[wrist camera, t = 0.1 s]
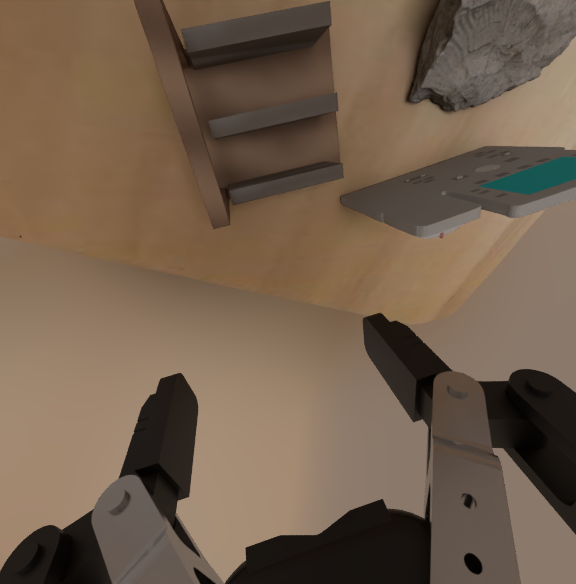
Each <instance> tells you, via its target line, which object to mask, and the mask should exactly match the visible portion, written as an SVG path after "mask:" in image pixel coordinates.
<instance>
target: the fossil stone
mask: <svg viewBox="0 0 576 584" xmlns="http://www.w3.org/2000/svg"><path fill="white" fill-rule="evenodd" d="M575 36H576V0H440V2H439V5H438V7H437V9H436V11H435V16H434V18H433V20H432V22H431V23H430V25H429V28H428V31H427V35H426V38H425V41H424V44H423V46H422V49H421V53H420V58H419V63H418V67H417V76H416V78H415V81H414V83H413V84H412V90H411V93H410V96H409V100H410V101H411V102H416V103H419V102H420V101H422V100H423V99H428V98H430V99H431V101H432V102H433V103H438V104H440V105H441V107H442V109H445V110H446V111H452V110H453V111H454V112H456V111H458V110H459V109H465V108H467V107H475V106H477V105H480V104H483V103H486V102H488V101H489V100H490V99H494V98H495V97H498V96H500V95H501V94H502V93H503V92H505V91H510V90H512V89H514V88H516V87H517V86H519V85H521V84H524V83H526V82H527V81H532V80H533V79H535V78H538V77H539V76H540V72H541V70H542V69H543V68H544V67H546V66H548V65H549V64H550V63H551V62H552V61H553V60H554V59H555V58H556V57H558V56H559V55H560V54H562V52H563V51H564V50H565V49H566V48H567V47H568V46H569V44H570V42H571V40H572V39H573V38H574V37H575Z"/></svg>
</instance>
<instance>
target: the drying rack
mask: <svg viewBox="0 0 576 584" xmlns="http://www.w3.org/2000/svg"><path fill="white" fill-rule="evenodd" d="M134 3H135V6H136V9H137V11H138V14H139V17H140V20H141V23H142V26H143V29H144V32H145V34H146V37H147V40H148V43H149V46H150V49H151V52H152V54H153V57H154V60H155V63H156V66H157V69H158V72H159V74H160V77H161V80H162V83H163V86H164V89H165V92H166V94H167V97H168V100H169V103H170V106H171V109H172V112H173V115H174V117H175V120H176V123H177V126H178V129H179V132H180V135H181V137H182V140H183V143H184V146H185V149H186V152H187V155H188V157H189V160H190V163H191V166H192V169H193V172H194V175H195V178H196V180H197V183H198V186H199V189H200V192H201V195H202V198H203V200H204V203H205V206H206V209H207V212H208V215H209V218H210V220H211V223H212V226H213V229H216V228H220V227H224V226H228V225H230V209H229V199H232V203H233V205H235V204H240V203H244V202H248V201H252V200H256V199H260V198H264V197H268V196H272V195H276V194H280V193H284V192H288V191H292V190H296V189H300V188H304V187H308V186H313V185H317V184H321V183H325V182H329V181H333V180H337V179H341V178H344V176H343V164H342V163H340V156H339V144H338V132H337V120H336V111H338V100H337V93H334V84H333V72H332V60H331V48H330V36H329V27H330V26H331V12H330V1H327V2H322V3H317V4H312V5H306V6H301V7H296V8H291V9H285V10H280V11H275V12H270V13H264V14H259V15H254V16H249V17H243V18H238V19H233V20H228V21H222V22H217V23H212V24H207V25H201V26H196V27H191V28H186V29H181V30H182V34H183V37H184V40H185V44H186V47H187V49H184V48H183V46H182V44H181V41H180V39H179V37H178V34H177V32H176V30H175V27H174V25H173V23H172V21H171V18H170V16H169V14H168V11H167V9H166V7H165V5H164V2H163V0H134Z"/></svg>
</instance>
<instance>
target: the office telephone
mask: <svg viewBox="0 0 576 584" xmlns="http://www.w3.org/2000/svg"><path fill="white" fill-rule="evenodd" d="M564 149H565V148H562V147H513V146H486V147H482V148H479V149H476V150H473V151H470V152H467V153H465V154H462V155H459V156H457V157H454V158H451V159H448V160H445V161H442V162H439V163H437V164H434V165H431V166H428V167H425V168H422V169H419V170H416V171H413V172H410V173H407V174H404V175H402V176H399V177H396V178H393V179H390V180H387V181H384V182H381V183H378V184H375V185H372V186H369V187H367V188H364V189H361V190H358V191H355V192H352V193H349V194H346V195H343V196H341V202H342V205H345V206H347V207H349V208H352V209H354V210H356V211H358V212H360V213H362V214H365V215H367V216H369V217H371V218H373V219H375V220H378V221H380V222H384V223H386V224H388V225H390V226H392V227H394V228H397V229H399V230H401V231H404V232H406V233H409V234H411V235H414V236H417V237H420V238H423V239H431V238H437V237H440V238H442V237H443V235H446V234H448V233H450V232H452V231H454V230H456V229H457V228H459V227H460V226H462V225H463V224H465V223H467V222H470V221H473V220H475V219H478V218H480V214H481V209H483V210H487V211H491V212H494V213H498V214H502V215H505V216H507V217H510V218H519V217H522V216H526V215H529V214H532V213H535V212H538V211H541V210H544V209H547V208H550V207H553V206H556V205H558V204H561V203H564V202H567V201H570V200H572V199H575V198H576V150H564Z"/></svg>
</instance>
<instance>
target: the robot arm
mask: <svg viewBox="0 0 576 584" xmlns="http://www.w3.org/2000/svg"><path fill="white" fill-rule="evenodd" d="M363 331H364V344H365V348H366V351H367V353H368V355H369V357H370V359H371V360H372V362H373V363H374V365H375V366H376V368H377V369H378V371H379V372H380V374H381V375H382V376H383V378H384V379H385V381H386V382H387V384H388V385H389V387H390V388H391V390H392V391H393V393H394V394H395V396H396V397H397V399H398V400H399V401H400V403H401V405H402V406H403V408H404V409H405V410H406V412H407V413H408V415H409V416H410V418H411V419H412V421H413V422H415V421H419V420H421V419H423V420H424V421H425V423H426V424H427V426H428V438H427V463H426V486H425V499H424V518H422V517H420V516H417V515H415V514H413V513H410V512H406V511H403V510H397V509H387V508H386V505H385V503H384V501H383V499H381V500H378V501H375V502H372V503H370V504H367V505H364V506H361V507H358V508H356V509H353V510H350V511H349V512H347V513H346V514H345V515H344V516H342V517H341V518H340V519H338V520H337V521H336V522H335V523H333V524H332V525H331V526H330V527H328V528H327V529H326V530H324V531H323V532H322V533H320V534H318V535H280V536H277V537H274V538H271V539H269V540H266V541H263V542H260V543H258V544H255V545H252V546H249V547H246V561H245V562H243V563H242V564H241V565H240V566H239V567H238V568H237V569H236V570H235V571H234V572H233V573H232V575H231V576H230V577H229V578H228V580H227V581H226V582H225V584H521V582H520V576H519V570H518V563H517V557H516V551H515V545H514V539H513V533H512V527H511V521H510V514H509V508H508V503H507V496H506V490H505V484H504V478H503V471H502V466H501V462H500V460H499V458H498V456H496V455H494V453H493V449H492V448H503V449H504V450H505V451H506V452H507V453H508V455H509V456H510V457H511V458H512V459H513V461H514V462H515V463H516V464H517V465H518V467H519V468H520V469H521V470H522V471H523V473H524V474H525V475H526V476H527V477H528V478H529V480H530V481H531V482H532V483H533V484H534V485H535V487H536V488H537V489H538V490H539V492H540V493H541V494H542V495H543V496H544V497H545V499H546V500H547V501H548V502H549V503H550V505H551V506H552V507H553V508H554V509H555V511H556V512H557V513H558V514H559V515H560V516H561V518H562V519H563V520H564V521H565V522H566V523H567V525H568V526H569V527H570V528H571V529H572V531H573V532H574V533H575V534H576V393H575V392H574V391H573V390H571V389H570V388H569V387H567V386H566V385H565V384H563V383H562V382H561V381H559V380H558V379H556V378H555V377H553V376H551V375H549V374H546V373H544V372H540V371H536V370H530V369H522V370H517V371H515V372H513V373H512V374H511V376H510V378H509V381H491V382H482V381H481V382H480V381H476V380H475V379H473V378H472V377H470V376H468V375H466V374H464V373H460V372H455V371H452V370H451V369H450V368H449V367H448V366H447V365H446V364H445V363H444V362H443V361H442V360H441V359H440V358H439V357H438V356H437V355H436V354H435V353H434V352H433V351H432V350H431V349H430V348H429V347H428V346H427V345H426V344H425V343H423V341H422V340H421V339H420V338H419V337H418V336H416V334H415V333H414V332H413V331H412V330H411V329H410V328H408V326H406V325H404V324H402V323H400V322H398V321H393V322H389V321H388V320H387V319H386V317H385V316H384V315H383V314H381V313H378V314H374V315H371V316H368V317H365V318H363ZM197 416H198V403H197V399H196V396H195V394H194V393H193V391H192V389H191V388H190V386H189V384H188V383H187V381H186V379H185V378H184V376H183V375H182V374H181V373H178V374H174V375H171V376H168V377H165V378H162V379H160V382H159V384H158V388H157V391H156V394H153V395H150V397H149V398H148V399H147V401H146V402H145V404H144V405H143V407H142V408H141V411H140V414H139V417H138V420H137V421H138V423H137V424H136V427H135V430H134V434H133V436H132V439H131V442H130V445H129V448H128V452H127V455H126V458H125V461H124V464H123V467H122V470H121V473H120V476H119V479H118V480H116V481H115V482H114V483H112V484H111V485H110V486H109V487H108V488H107V489H106V490H105V491H104V492H103V494H102V495H101V496H100V498H99V499H98V501H97V503H96V505H95V507H94V509H93V510H92V511H90V512H89V513H87V514H86V515H84V516H83V517H81V518H80V519H78V520H77V521H75V522H74V523H72V524H71V525H69V526H68V527H66V528H64V529H63V530H61V529H59V528H58V527H56V526H53V525H48V526H44V527H42V528H40V529H38V530H36V531H34V532H33V533H32V534H31V535H29V536H28V537H27V538H26V539H24V540H23V541H22V542H21V543H20V544H19V545H18V546H17V548H16V549H15V550H14V551H13V552H12V554H11V555H10V556H9V558H8V559H7V561H6V562H5V564H4V566H3V567H2V569H1V571H0V584H224V583H223V582H222V580H221V579H220V577H219V576H218V575H217V574H216V572H215V571H214V569H213V568H212V567H211V566H210V565H209V563H208V562H207V561H206V559H205V558H204V556H203V555H202V553H201V552H200V550H199V549H198V547H197V545H196V543H195V542H194V540H193V539H192V537H191V536H190V534H189V532H188V531H187V529H186V528H185V526H184V524H183V523H182V521H181V520H180V518H179V516H178V515H177V514H176V507H177V501H178V500H181V499H184V498H187V497H189V493H190V483H191V474H192V464H193V455H194V445H195V436H196V426H197Z"/></svg>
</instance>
